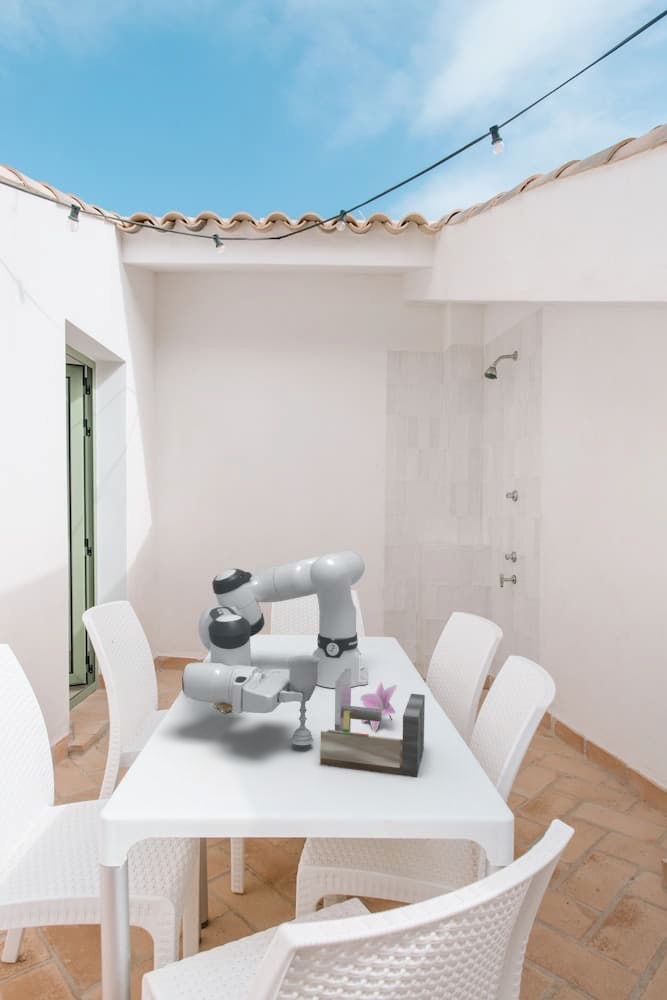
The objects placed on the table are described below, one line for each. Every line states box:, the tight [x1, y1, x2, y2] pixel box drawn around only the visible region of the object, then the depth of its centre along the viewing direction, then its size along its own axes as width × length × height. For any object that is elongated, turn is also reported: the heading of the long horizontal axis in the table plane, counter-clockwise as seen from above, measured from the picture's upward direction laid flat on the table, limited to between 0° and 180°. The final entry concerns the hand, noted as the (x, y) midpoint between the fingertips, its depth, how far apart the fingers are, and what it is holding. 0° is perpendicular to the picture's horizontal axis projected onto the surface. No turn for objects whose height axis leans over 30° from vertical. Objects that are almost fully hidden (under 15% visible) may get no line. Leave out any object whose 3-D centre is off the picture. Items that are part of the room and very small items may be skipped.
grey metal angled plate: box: [334, 668, 383, 731], centre depth 129 cm, size 11×9×15 cm
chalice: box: [287, 654, 320, 746], centre depth 133 cm, size 7×7×18 cm
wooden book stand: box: [319, 693, 426, 778], centre depth 129 cm, size 14×20×12 cm
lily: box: [360, 681, 398, 733], centre depth 148 cm, size 12×12×10 cm
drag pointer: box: [343, 711, 352, 732], centre depth 125 cm, size 1×1×9 cm
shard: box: [213, 702, 233, 713], centre depth 158 cm, size 11×8×2 cm
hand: (307, 692), depth 133 cm, fingers closed on chalice, 5 cm apart
